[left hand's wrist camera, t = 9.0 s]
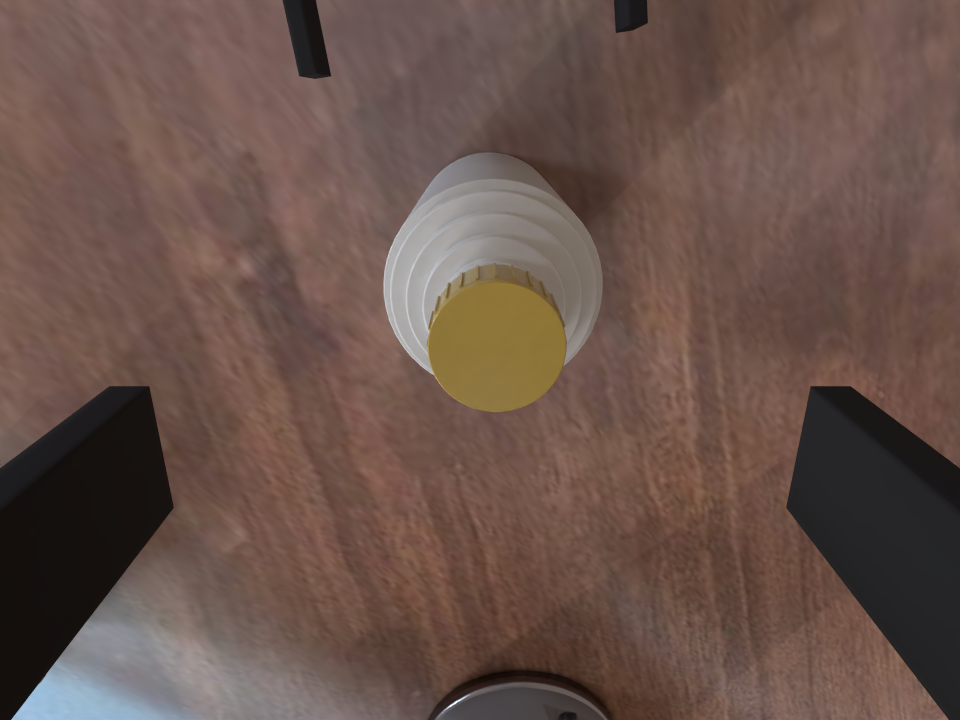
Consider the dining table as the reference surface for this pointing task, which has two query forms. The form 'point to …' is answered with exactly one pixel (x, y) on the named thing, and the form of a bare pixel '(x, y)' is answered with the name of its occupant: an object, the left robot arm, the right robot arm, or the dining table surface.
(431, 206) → the bottle
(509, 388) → the cap
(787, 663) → the dining table surface
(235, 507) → the dining table surface
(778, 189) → the dining table surface
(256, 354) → the dining table surface
